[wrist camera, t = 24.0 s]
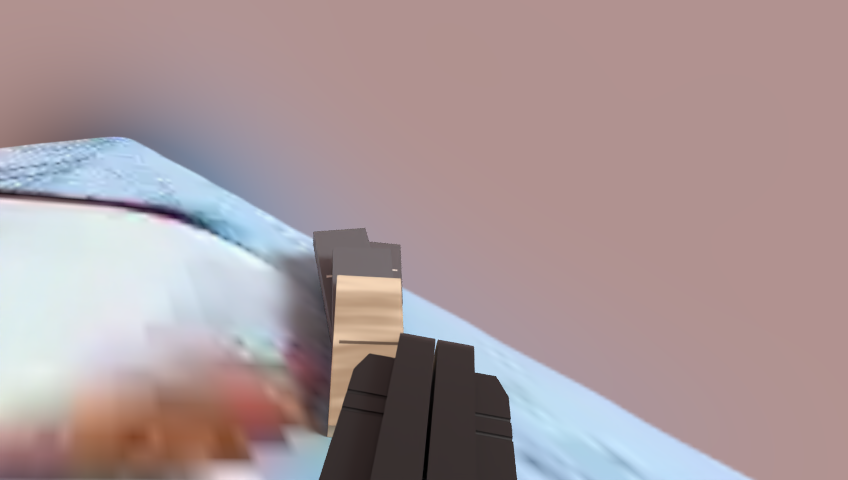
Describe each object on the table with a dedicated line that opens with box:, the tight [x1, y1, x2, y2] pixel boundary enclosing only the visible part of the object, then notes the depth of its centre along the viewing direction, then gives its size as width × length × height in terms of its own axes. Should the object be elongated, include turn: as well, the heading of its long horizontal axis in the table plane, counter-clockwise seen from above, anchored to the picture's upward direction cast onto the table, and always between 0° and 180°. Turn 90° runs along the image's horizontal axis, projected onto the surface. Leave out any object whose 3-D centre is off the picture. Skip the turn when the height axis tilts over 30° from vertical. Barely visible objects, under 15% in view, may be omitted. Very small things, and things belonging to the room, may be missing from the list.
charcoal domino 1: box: [313, 228, 371, 345], centre depth 46 cm, size 2×5×12 cm
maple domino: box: [327, 275, 403, 437], centre depth 37 cm, size 2×5×12 cm
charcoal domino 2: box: [332, 247, 393, 350], centre depth 41 cm, size 2×5×12 cm
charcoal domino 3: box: [369, 242, 403, 304], centre depth 52 cm, size 2×5×12 cm
